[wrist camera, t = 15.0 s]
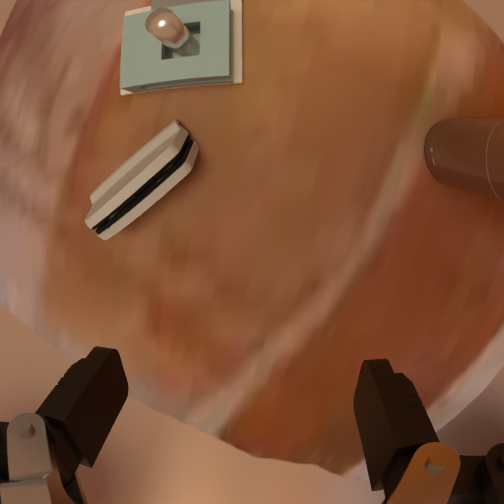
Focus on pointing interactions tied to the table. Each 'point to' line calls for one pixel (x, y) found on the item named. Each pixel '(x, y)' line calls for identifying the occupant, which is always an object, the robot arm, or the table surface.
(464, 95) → the table surface
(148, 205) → the white black beveled block
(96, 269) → the table surface
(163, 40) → the pin
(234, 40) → the square frame block
